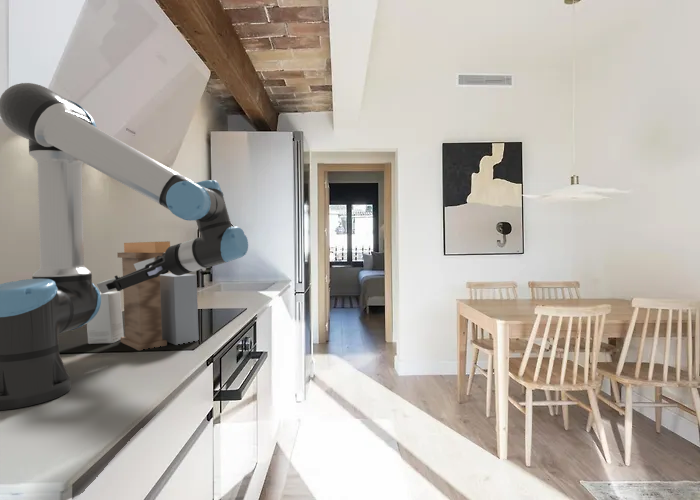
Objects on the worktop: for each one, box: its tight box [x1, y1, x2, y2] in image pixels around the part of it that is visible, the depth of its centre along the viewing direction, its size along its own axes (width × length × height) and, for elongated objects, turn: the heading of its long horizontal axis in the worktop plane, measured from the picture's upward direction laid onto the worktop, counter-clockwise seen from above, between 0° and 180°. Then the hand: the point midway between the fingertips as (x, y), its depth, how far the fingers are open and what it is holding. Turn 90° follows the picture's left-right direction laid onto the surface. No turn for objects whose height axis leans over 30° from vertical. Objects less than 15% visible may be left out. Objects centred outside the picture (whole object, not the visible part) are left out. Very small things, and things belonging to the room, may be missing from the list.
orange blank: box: [123, 240, 171, 253], centre depth 129 cm, size 4×26×3 cm, turn 44°
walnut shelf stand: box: [117, 251, 168, 351], centre depth 133 cm, size 8×16×28 cm, turn 44°
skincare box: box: [86, 290, 125, 345], centre depth 137 cm, size 8×7×16 cm
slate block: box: [160, 272, 200, 346], centre depth 138 cm, size 7×16×20 cm, turn 44°
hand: (119, 277), depth 112 cm, fingers open, 13 cm apart
